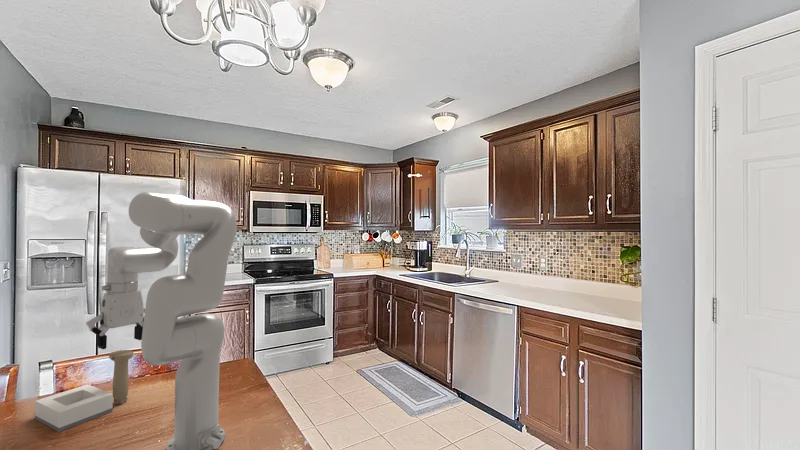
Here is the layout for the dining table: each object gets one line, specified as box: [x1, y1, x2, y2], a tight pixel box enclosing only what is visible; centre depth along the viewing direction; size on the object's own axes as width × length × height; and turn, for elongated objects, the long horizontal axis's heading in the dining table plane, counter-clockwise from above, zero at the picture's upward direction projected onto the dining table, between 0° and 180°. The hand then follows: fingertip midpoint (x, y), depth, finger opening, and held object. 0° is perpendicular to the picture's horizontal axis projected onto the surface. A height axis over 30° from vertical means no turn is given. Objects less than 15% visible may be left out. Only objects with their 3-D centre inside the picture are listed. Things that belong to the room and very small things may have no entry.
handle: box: [108, 349, 135, 405], centre depth 110 cm, size 5×6×15 cm
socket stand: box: [34, 383, 114, 433], centre depth 103 cm, size 14×12×5 cm
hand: (120, 343), depth 111 cm, fingers open, 9 cm apart
